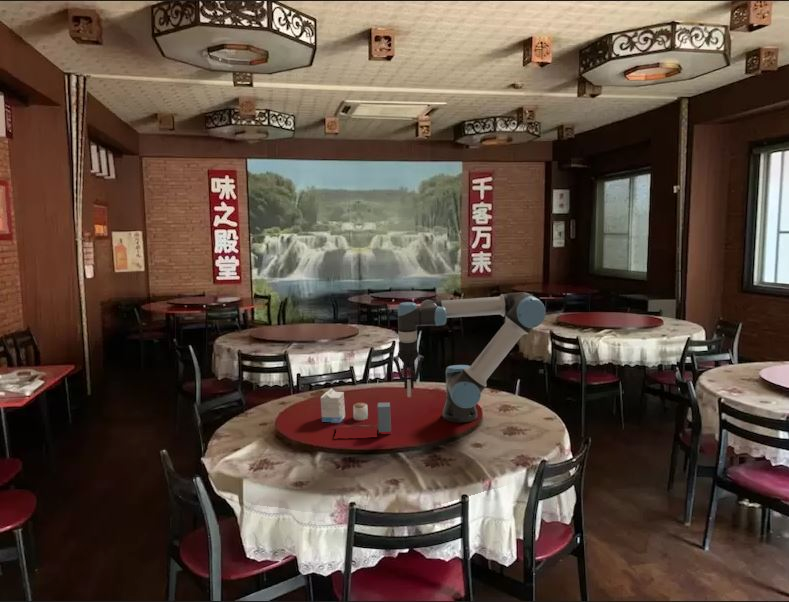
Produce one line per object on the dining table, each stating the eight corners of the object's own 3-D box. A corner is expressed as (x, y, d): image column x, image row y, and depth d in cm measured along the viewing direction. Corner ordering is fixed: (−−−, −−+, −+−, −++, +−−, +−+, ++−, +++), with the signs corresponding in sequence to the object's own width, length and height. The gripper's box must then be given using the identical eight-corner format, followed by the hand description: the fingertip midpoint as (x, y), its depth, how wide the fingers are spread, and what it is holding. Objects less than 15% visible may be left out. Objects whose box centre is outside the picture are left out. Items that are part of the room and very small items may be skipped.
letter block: (390, 429, 250) (389, 402, 247) (390, 434, 245) (389, 406, 242) (379, 429, 250) (377, 402, 247) (378, 434, 245) (377, 407, 242)
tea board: (378, 426, 253) (378, 424, 253) (377, 438, 241) (377, 435, 241) (336, 428, 253) (336, 426, 253) (333, 439, 241) (333, 437, 241)
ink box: (340, 423, 258) (338, 394, 255) (321, 422, 260) (319, 393, 257) (345, 416, 266) (343, 387, 264) (327, 415, 268) (326, 387, 265)
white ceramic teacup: (368, 414, 267) (367, 401, 266) (367, 420, 261) (367, 406, 260) (354, 415, 267) (353, 402, 266) (353, 420, 261) (352, 407, 260)
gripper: (423, 337, 244) (424, 392, 248) (391, 338, 244) (393, 393, 248) (424, 342, 236) (425, 398, 241) (391, 343, 236) (393, 399, 241)
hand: (409, 395), depth 244 cm, fingers closed
